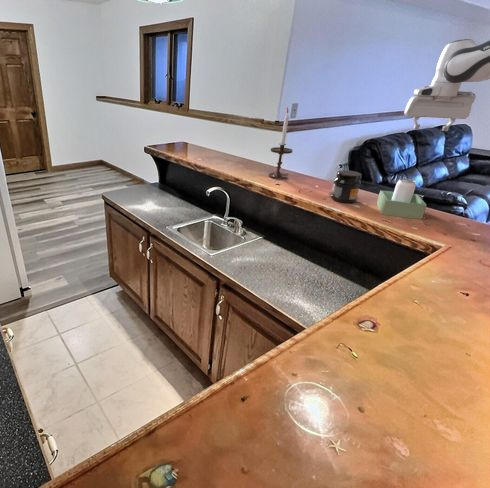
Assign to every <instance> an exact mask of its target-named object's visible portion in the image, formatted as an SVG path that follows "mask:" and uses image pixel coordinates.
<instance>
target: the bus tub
mask: <svg viewBox="0 0 490 488" xmlns="http://www.w3.org/2000/svg"><path fill="white" fill-rule="evenodd" d="M393 193H394V191H390V190H380V191H379V194H378V197H377V201H376V203H375V204H376V206H377V208H378V210H379V211H380V214H381V215H382V216H389V217H398V218H407V219H414V220H422V219H423V216H424V214H425V211H426V208H427V207H428V206H427V203H426V202H425V201H424V200H423V199H422V198H421V196H420V195H418V194H417V193H413V196H412V199H411V202H402V201H393V200H391V199H392V196H393Z"/></svg>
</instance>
